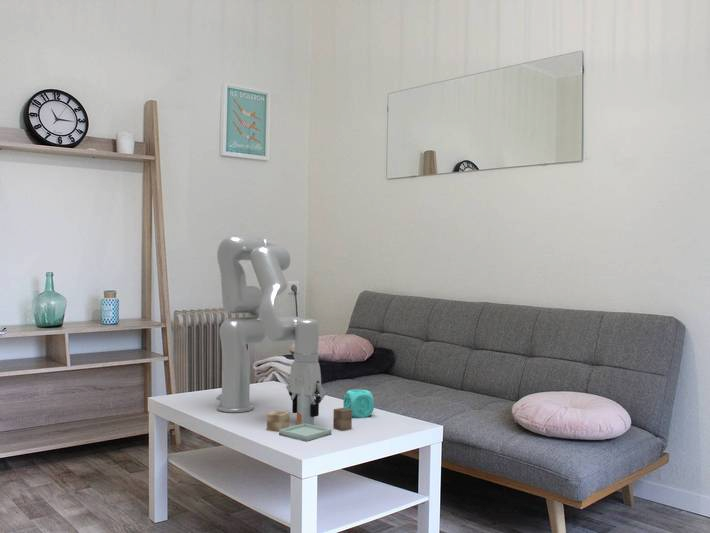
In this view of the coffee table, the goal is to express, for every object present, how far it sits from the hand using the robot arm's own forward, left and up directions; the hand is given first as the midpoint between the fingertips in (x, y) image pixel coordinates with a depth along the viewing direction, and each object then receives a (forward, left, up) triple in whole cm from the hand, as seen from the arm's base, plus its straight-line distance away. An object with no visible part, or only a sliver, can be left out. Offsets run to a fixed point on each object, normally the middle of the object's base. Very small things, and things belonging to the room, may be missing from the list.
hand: (305, 414), depth 212 cm
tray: (+8, -9, -3) cm, 13 cm away
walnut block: (+12, +4, -3) cm, 13 cm away
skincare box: (0, 0, -4) cm, 4 cm away
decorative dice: (+4, +22, -4) cm, 23 cm away
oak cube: (-2, -10, -3) cm, 11 cm away
